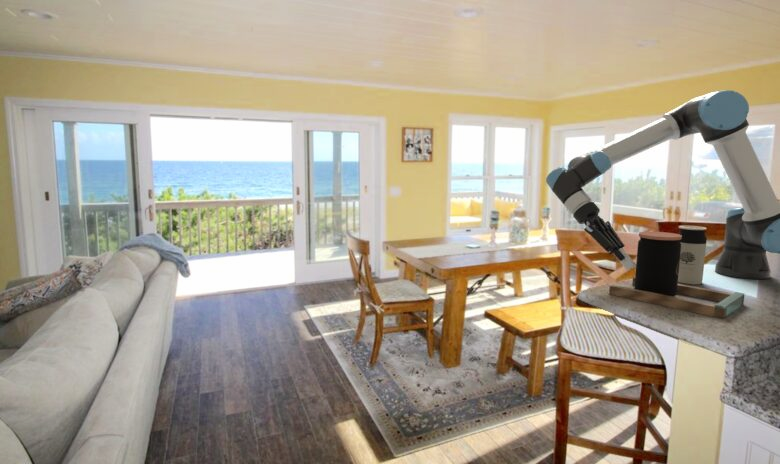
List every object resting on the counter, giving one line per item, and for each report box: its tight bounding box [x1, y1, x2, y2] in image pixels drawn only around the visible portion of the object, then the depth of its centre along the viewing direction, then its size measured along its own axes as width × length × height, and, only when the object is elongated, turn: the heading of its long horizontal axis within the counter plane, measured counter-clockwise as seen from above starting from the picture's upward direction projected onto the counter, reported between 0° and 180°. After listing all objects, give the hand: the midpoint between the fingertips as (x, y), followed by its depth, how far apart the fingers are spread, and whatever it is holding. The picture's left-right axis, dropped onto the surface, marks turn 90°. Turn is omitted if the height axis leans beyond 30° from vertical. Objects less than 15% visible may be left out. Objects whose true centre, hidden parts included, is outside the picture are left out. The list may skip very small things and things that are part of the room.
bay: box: [608, 276, 746, 319], centre depth 127 cm, size 28×18×3 cm, turn 40°
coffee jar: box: [633, 231, 682, 297], centre depth 130 cm, size 11×11×18 cm
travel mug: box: [678, 225, 708, 286], centre depth 145 cm, size 8×8×18 cm
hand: (632, 267), depth 134 cm, fingers closed
